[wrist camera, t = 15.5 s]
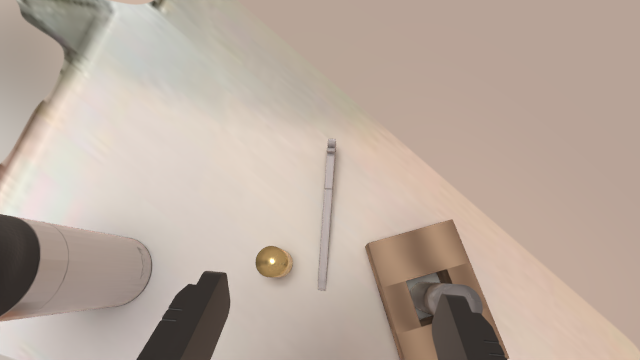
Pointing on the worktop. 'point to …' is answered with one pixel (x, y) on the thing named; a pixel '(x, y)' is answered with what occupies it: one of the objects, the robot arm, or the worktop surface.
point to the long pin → (429, 294)
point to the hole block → (415, 261)
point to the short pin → (273, 262)
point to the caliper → (326, 213)
